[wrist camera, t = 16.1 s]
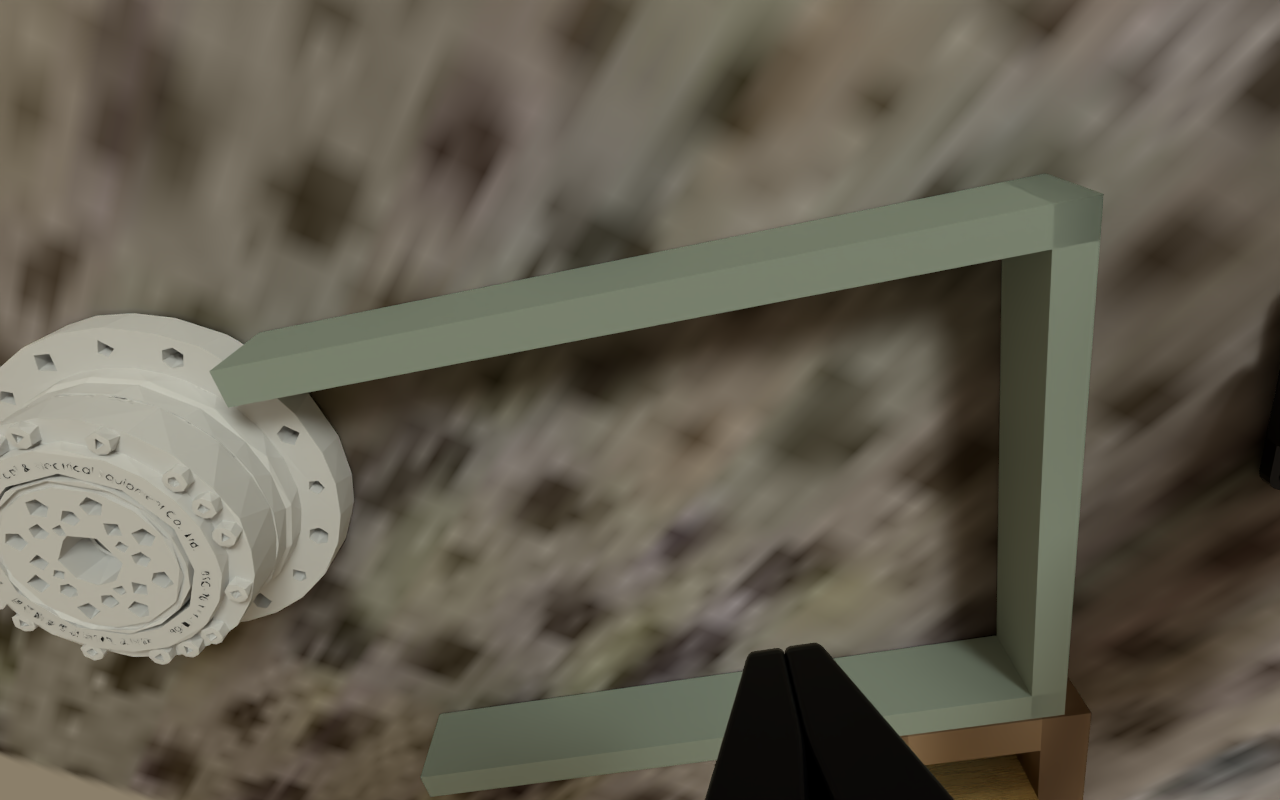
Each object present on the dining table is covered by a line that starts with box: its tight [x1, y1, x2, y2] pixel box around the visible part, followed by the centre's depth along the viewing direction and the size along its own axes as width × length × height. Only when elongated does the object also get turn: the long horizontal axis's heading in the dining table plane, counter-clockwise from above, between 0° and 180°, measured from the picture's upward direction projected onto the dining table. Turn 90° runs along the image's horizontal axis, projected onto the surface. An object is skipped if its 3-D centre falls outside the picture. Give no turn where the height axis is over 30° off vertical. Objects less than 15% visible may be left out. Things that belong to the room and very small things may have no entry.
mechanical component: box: [0, 313, 354, 665], centre depth 20 cm, size 10×4×10 cm
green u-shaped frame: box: [209, 174, 1104, 797], centre depth 21 cm, size 20×16×2 cm
